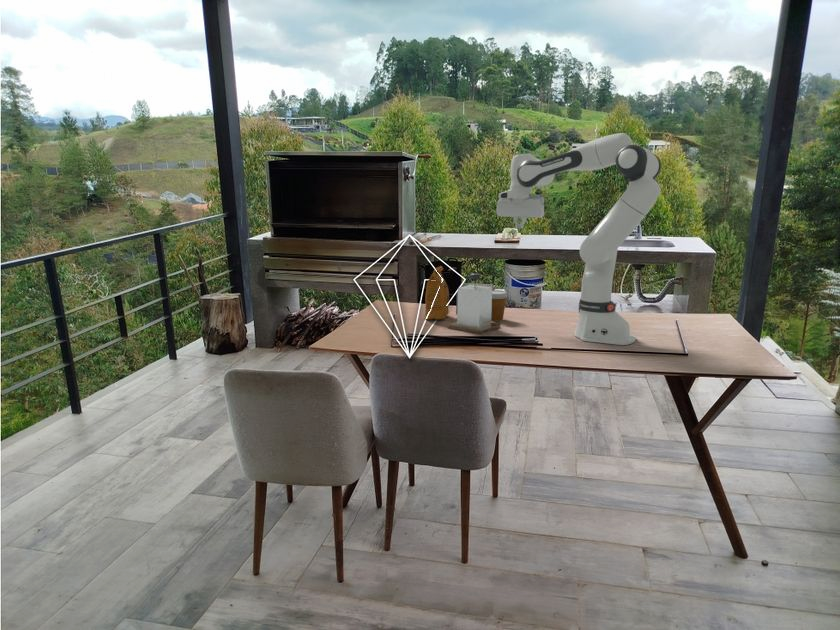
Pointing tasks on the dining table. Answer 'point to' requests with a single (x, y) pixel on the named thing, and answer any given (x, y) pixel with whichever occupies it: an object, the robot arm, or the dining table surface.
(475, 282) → the plunger
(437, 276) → the coffee package
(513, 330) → the dining table surface
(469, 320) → the block
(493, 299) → the disposable coffee cup
